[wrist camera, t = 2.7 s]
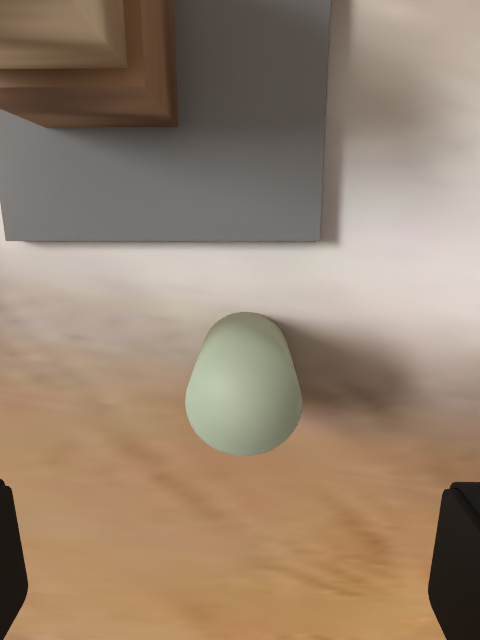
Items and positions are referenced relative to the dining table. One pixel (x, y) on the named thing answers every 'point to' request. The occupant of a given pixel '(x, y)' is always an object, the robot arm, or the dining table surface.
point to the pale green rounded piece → (244, 387)
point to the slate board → (191, 141)
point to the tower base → (106, 81)
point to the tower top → (62, 34)
